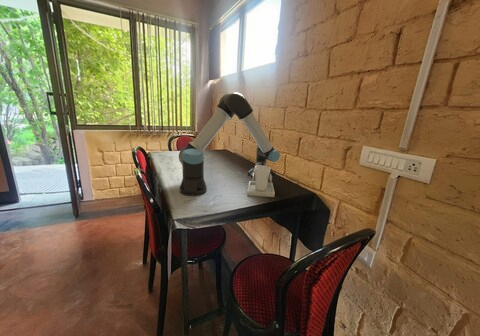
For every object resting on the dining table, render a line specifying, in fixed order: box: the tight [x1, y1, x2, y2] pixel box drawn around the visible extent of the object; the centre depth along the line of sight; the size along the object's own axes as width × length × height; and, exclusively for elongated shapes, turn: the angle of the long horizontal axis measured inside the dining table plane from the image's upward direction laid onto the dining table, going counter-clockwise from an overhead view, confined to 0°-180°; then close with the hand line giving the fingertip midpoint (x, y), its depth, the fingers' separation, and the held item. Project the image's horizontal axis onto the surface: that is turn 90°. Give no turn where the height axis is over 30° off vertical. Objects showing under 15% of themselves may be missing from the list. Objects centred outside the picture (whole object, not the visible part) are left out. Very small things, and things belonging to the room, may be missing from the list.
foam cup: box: [253, 165, 272, 190], centre depth 119 cm, size 10×9×13 cm
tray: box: [247, 180, 276, 198], centre depth 122 cm, size 15×18×2 cm
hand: (262, 178), depth 114 cm, fingers closed on foam cup, 9 cm apart
